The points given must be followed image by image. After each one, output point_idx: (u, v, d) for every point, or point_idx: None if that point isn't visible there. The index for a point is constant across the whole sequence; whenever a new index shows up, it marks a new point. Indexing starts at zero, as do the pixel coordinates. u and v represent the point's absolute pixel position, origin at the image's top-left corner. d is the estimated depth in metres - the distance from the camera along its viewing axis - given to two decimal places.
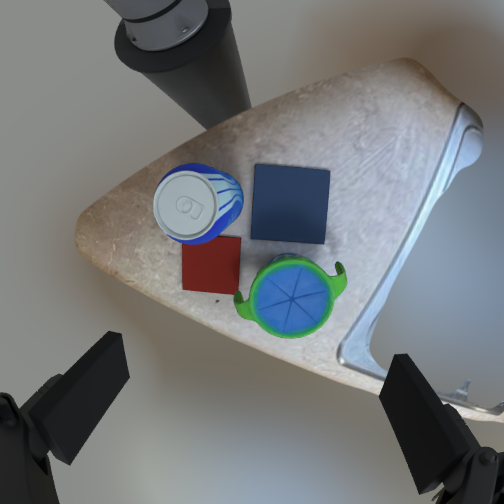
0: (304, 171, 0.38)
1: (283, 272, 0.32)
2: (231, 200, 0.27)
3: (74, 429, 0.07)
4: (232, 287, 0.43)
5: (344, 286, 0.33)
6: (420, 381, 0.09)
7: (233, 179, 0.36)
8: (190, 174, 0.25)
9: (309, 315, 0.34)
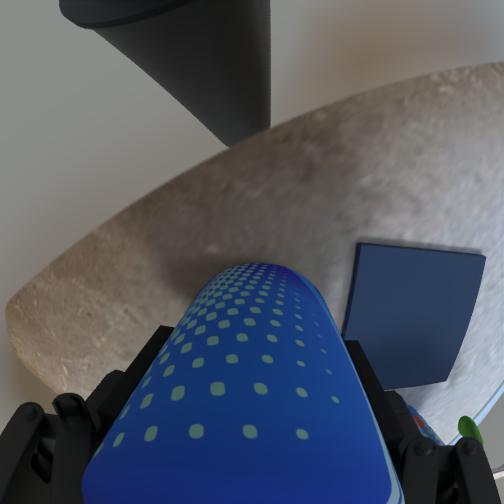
0: (451, 261, 0.15)
1: None
2: None
3: None
4: None
5: None
6: (364, 366, 0.10)
7: (326, 310, 0.12)
8: None
9: None
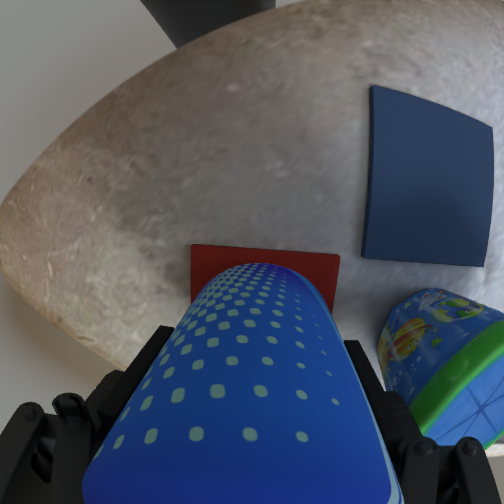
0: (460, 119, 0.13)
1: (500, 362, 0.07)
2: None
3: None
4: None
5: None
6: (364, 366, 0.10)
7: (326, 310, 0.12)
8: None
9: (492, 426, 0.08)
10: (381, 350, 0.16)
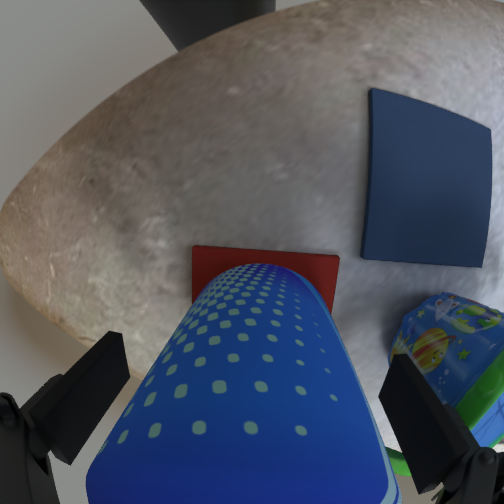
0: (458, 121, 0.14)
1: None
2: None
3: (75, 429, 0.07)
4: None
5: None
6: (419, 381, 0.09)
7: (325, 310, 0.12)
8: None
9: None
10: None
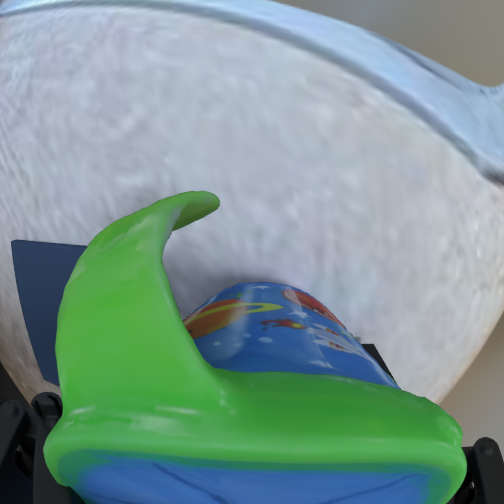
0: (23, 297, 0.13)
1: None
2: None
3: None
4: None
5: (132, 267, 0.04)
6: None
7: None
8: None
9: (356, 495, 0.03)
10: None
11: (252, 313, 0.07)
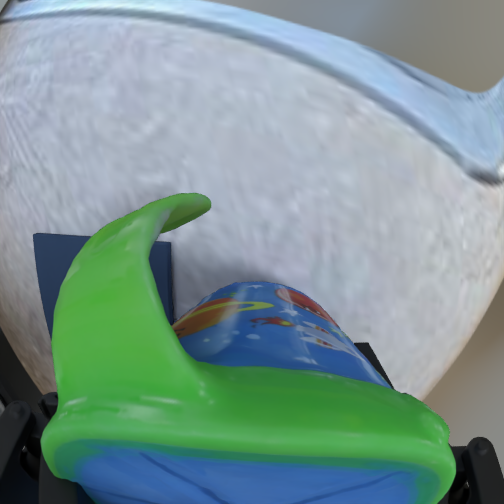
0: (43, 287, 0.15)
1: None
2: None
3: None
4: None
5: (121, 266, 0.04)
6: (375, 368, 0.10)
7: None
8: None
9: (343, 491, 0.04)
10: None
11: (242, 311, 0.07)
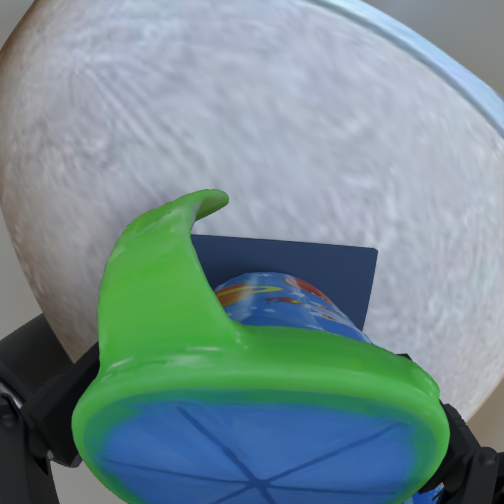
0: None
1: (147, 494, 0.06)
2: None
3: None
4: None
5: (168, 245, 0.05)
6: None
7: None
8: None
9: (349, 447, 0.05)
10: None
11: (257, 293, 0.09)
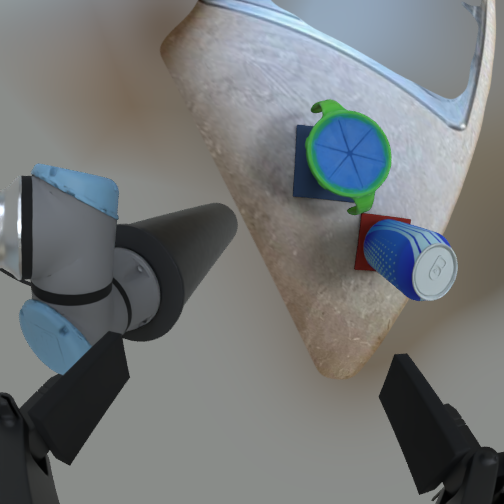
0: (299, 149, 0.39)
1: (321, 162, 0.30)
2: (428, 231, 0.27)
3: (74, 429, 0.07)
4: None
5: (332, 101, 0.29)
6: (420, 381, 0.09)
7: (380, 227, 0.36)
8: (415, 267, 0.26)
9: (365, 135, 0.29)
10: None
11: None
